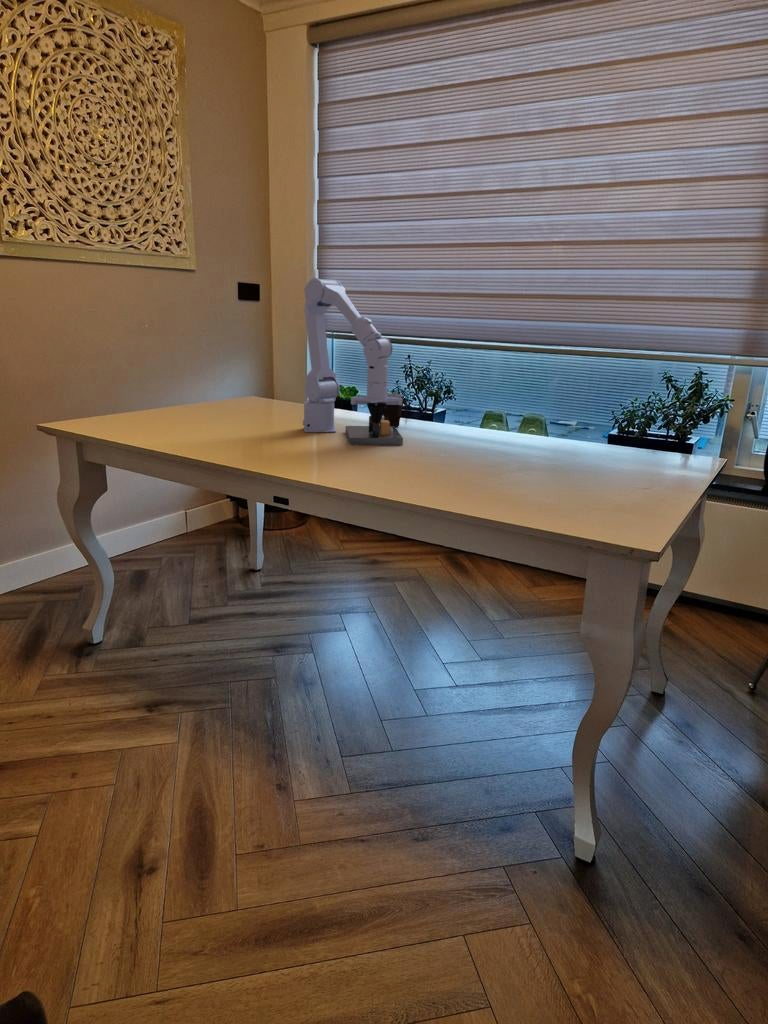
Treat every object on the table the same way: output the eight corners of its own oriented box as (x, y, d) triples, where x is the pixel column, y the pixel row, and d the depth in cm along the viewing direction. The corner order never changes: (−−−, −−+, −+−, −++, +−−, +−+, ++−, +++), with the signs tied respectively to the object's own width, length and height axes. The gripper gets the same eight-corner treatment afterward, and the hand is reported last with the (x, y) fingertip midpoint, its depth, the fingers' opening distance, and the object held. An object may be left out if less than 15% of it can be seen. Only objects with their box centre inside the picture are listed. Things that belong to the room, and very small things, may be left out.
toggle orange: (381, 434, 190) (381, 422, 189) (379, 431, 194) (379, 420, 193) (389, 434, 190) (389, 422, 189) (387, 432, 194) (388, 420, 193)
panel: (349, 444, 185) (350, 423, 183) (345, 432, 202) (345, 412, 200) (402, 445, 187) (403, 424, 185) (394, 432, 204) (394, 413, 202)
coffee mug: (372, 424, 217) (373, 393, 213) (397, 423, 219) (398, 393, 216) (383, 431, 206) (384, 398, 203) (409, 430, 209) (410, 398, 205)
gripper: (352, 383, 183) (351, 432, 187) (404, 384, 184) (402, 432, 188) (350, 380, 189) (350, 427, 193) (401, 381, 191) (399, 427, 195)
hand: (375, 429), depth 191 cm, fingers closed
